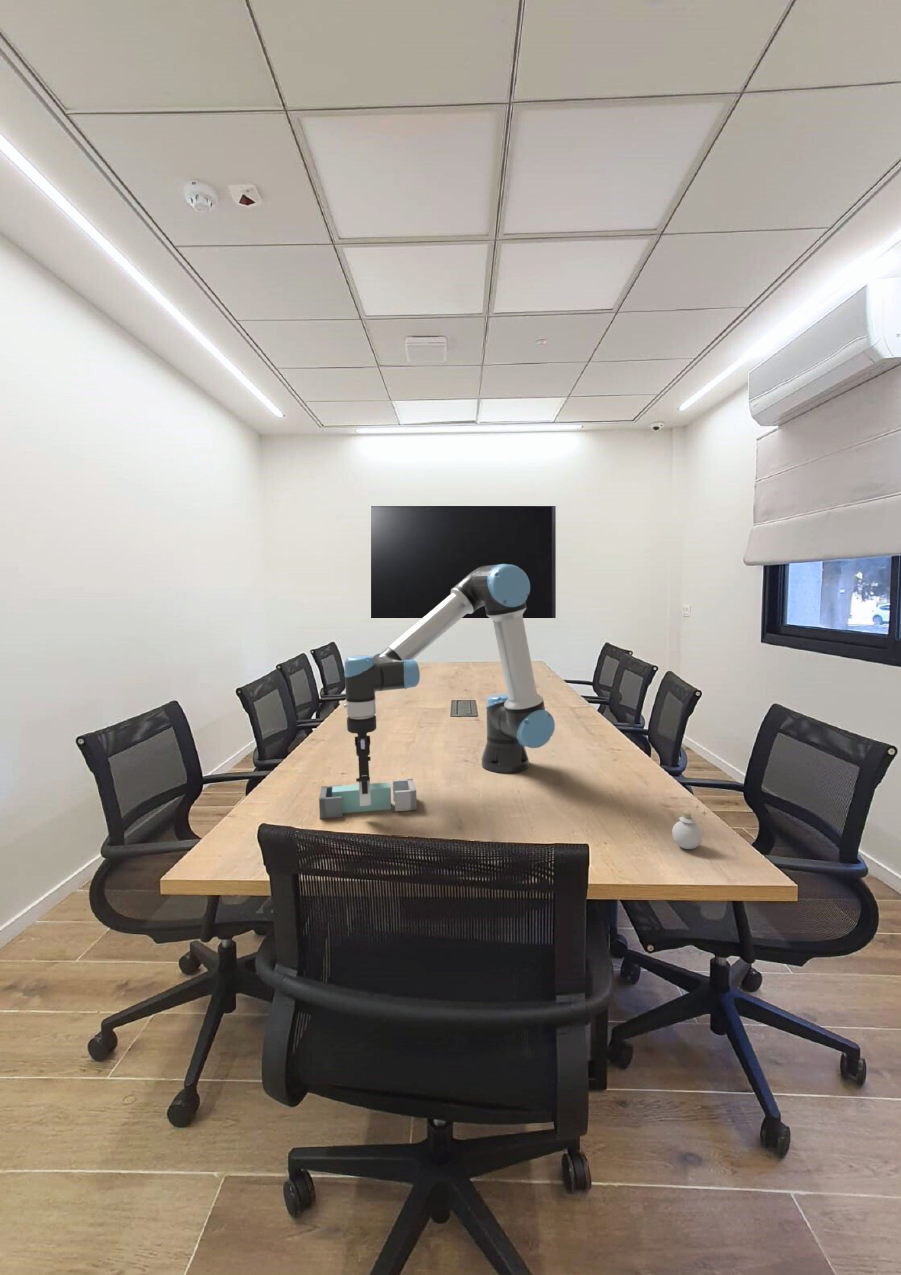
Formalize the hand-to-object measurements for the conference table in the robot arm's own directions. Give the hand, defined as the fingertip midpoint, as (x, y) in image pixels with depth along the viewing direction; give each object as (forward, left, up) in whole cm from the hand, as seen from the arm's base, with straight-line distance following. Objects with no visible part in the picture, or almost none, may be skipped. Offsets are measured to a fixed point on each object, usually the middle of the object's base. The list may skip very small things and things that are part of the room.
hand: (365, 795), depth 142 cm
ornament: (-70, +36, -4) cm, 79 cm away
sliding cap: (-11, 0, -3) cm, 11 cm away
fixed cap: (+8, 0, -3) cm, 9 cm away
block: (+1, 0, -4) cm, 4 cm away
